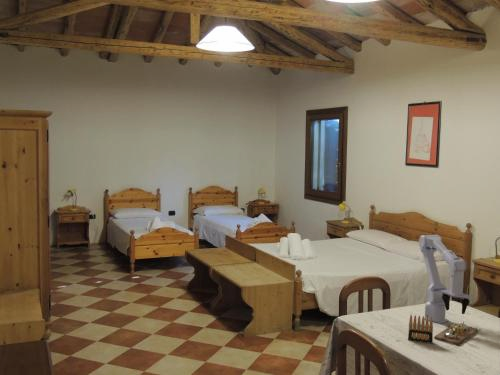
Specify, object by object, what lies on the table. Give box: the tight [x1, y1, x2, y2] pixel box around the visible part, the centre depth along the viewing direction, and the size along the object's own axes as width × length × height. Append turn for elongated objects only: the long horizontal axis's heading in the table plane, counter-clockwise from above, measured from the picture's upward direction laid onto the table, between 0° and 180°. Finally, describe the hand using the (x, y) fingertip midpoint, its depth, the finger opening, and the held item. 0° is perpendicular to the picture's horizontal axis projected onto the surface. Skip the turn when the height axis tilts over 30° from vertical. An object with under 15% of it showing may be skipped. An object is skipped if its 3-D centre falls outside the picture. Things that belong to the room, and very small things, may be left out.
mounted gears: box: [444, 321, 470, 339], centre depth 239 cm, size 6×20×3 cm, turn 136°
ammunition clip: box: [407, 314, 434, 344], centre depth 232 cm, size 11×2×12 cm, turn 71°
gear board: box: [433, 322, 479, 346], centre depth 240 cm, size 11×24×1 cm, turn 136°
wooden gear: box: [449, 323, 464, 335], centre depth 239 cm, size 6×6×3 cm
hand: (455, 311), depth 244 cm, fingers open, 7 cm apart
